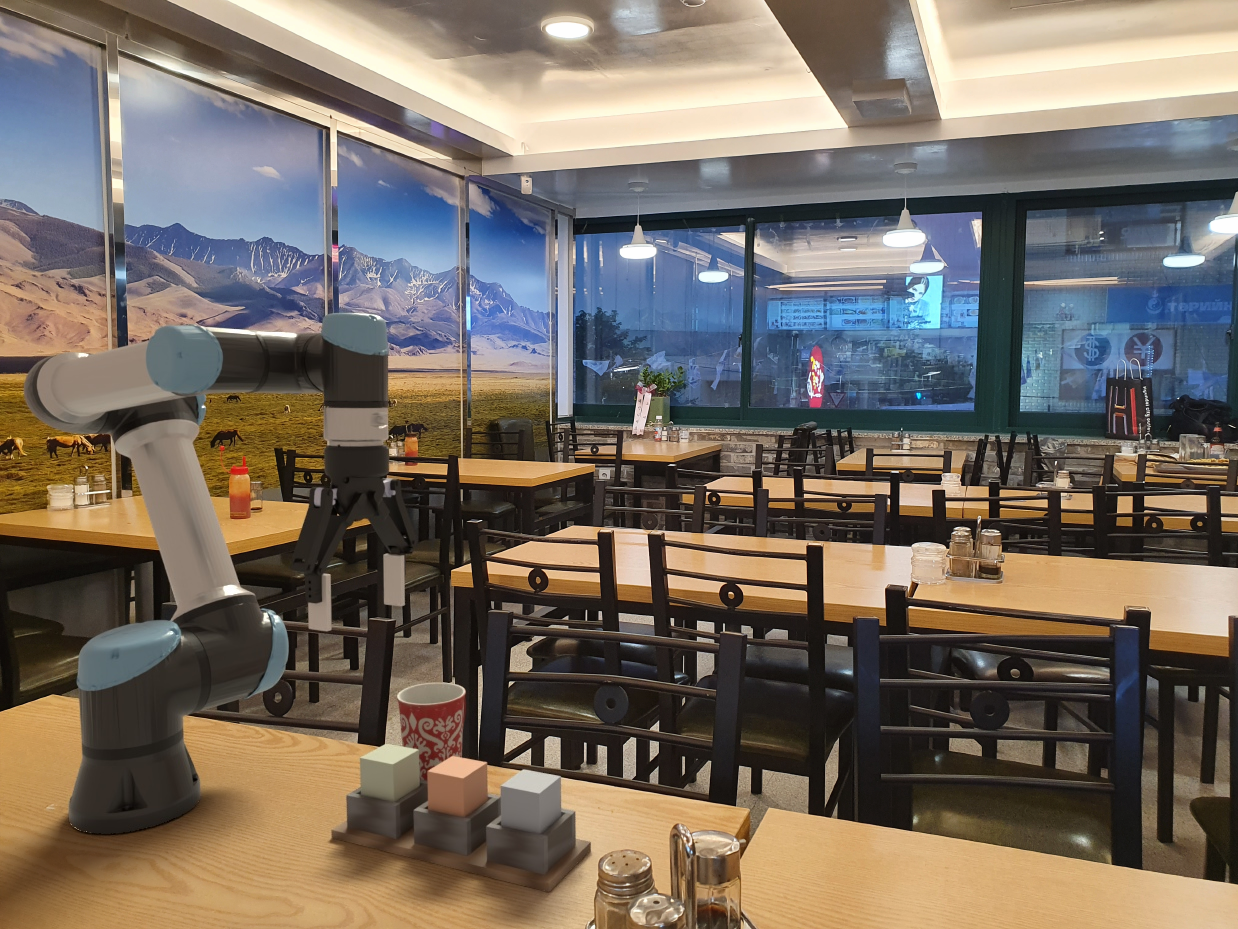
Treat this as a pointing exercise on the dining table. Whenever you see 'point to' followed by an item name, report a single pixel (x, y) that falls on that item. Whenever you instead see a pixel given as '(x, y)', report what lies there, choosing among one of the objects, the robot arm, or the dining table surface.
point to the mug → (432, 722)
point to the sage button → (389, 772)
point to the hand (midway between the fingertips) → (359, 616)
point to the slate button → (531, 801)
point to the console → (464, 838)
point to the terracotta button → (457, 786)
